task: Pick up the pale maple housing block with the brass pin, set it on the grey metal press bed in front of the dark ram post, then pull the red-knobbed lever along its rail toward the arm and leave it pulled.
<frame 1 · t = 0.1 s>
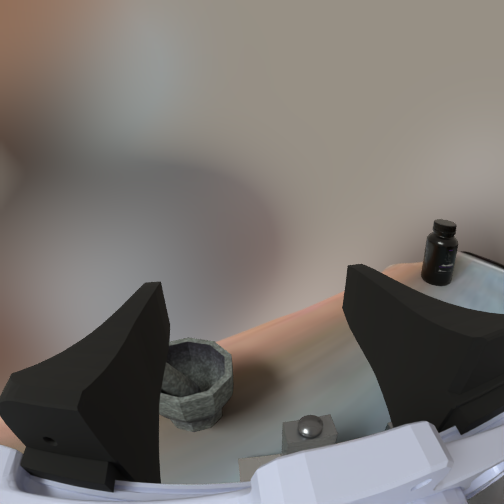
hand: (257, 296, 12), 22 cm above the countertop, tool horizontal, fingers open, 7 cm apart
supplement bottle: (435, 279, 56), on the countertop
press: (314, 502, 20), on the countertop
mortar and pestle: (189, 413, 31), on the countertop
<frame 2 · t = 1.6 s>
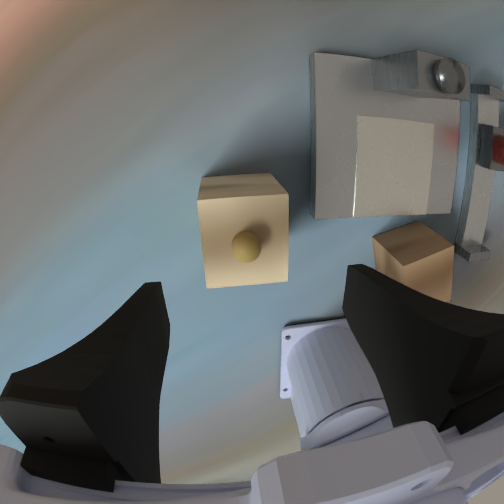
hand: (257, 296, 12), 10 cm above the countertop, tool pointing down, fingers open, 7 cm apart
press: (389, 138, 20), on the countertop
rail: (477, 170, 22), on the countertop
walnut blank: (397, 254, 24), on the countertop
housing: (238, 210, 21), on the countertop
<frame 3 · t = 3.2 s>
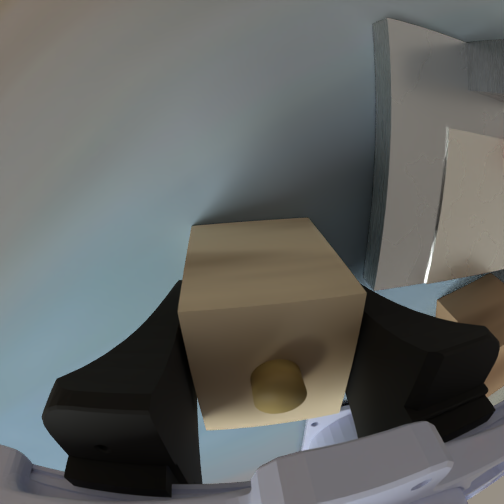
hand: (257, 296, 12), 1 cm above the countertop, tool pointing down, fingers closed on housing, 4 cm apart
press: (475, 163, 12), on the countertop
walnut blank: (460, 316, 16), on the countertop
housing: (253, 278, 13), on the countertop, touching gripper
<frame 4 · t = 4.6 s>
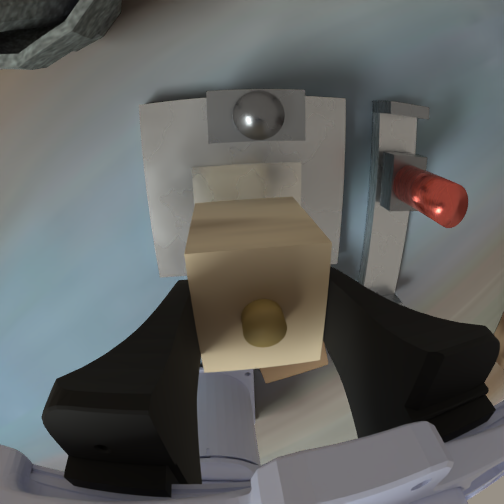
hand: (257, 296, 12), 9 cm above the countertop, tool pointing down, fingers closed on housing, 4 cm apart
press: (246, 184, 19), on the countertop
mortar and pestle: (71, 16, 13), on the countertop
rail: (385, 208, 21), on the countertop
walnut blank: (276, 306, 24), on the countertop
housing: (246, 249, 15), point 5 cm above the countertop, touching gripper
lever: (422, 190, 16), point 4 cm above the countertop, slide at 0.0 cm
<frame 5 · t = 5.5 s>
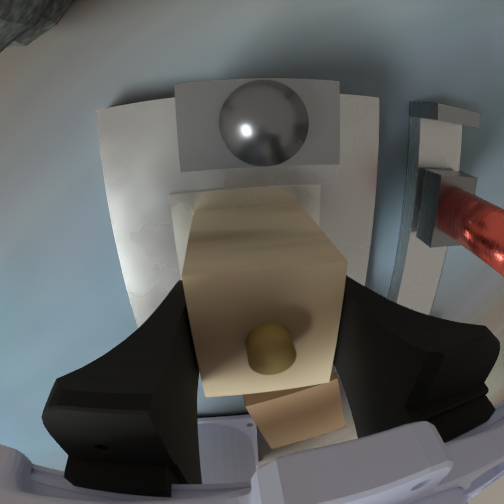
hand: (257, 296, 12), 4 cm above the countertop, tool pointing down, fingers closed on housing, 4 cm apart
press: (245, 212, 15), on the countertop
mortar and pestle: (22, 3, 8), on the countertop
rail: (419, 237, 16), on the countertop
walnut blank: (283, 356, 19), on the countertop
housing: (249, 260, 14), point 1 cm above the countertop, touching gripper, press
lever: (475, 223, 12), point 4 cm above the countertop, slide at 0.0 cm
when the fingers open (4 cm above the countertop, at t = 6.0 s): housing stays where it is, resting on press.
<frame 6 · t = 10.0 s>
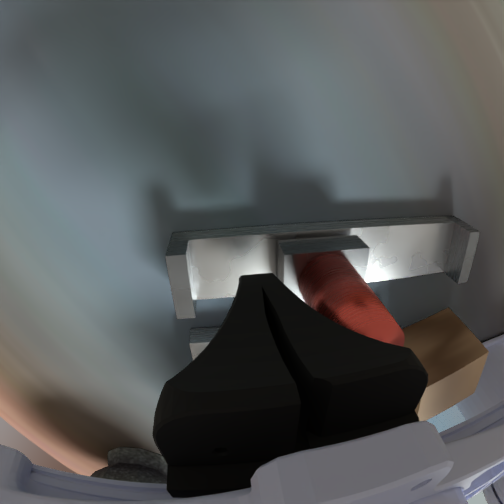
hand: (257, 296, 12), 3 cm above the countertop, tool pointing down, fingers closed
press: (288, 389, 19), on the countertop
mortar and pestle: (143, 463, 23), on the countertop
rail: (334, 249, 15), on the countertop
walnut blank: (417, 343, 19), on the countertop
lever: (339, 300, 11), point 4 cm above the countertop, slide at 1.2 cm, touching gripper
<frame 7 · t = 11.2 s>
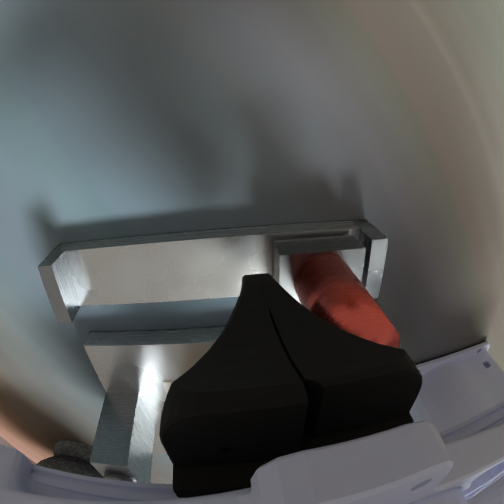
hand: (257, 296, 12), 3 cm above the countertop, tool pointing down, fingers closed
press: (197, 397, 19), on the countertop
mortar and pestle: (88, 457, 23), on the countertop
rail: (210, 259, 15), on the countertop
lever: (334, 301, 11), point 4 cm above the countertop, slide at 7.1 cm, touching gripper
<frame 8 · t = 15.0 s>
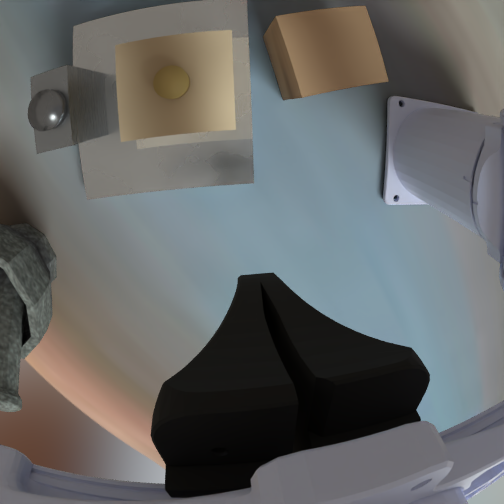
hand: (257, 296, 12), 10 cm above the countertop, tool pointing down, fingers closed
press: (160, 95, 17), on the countertop
mortar and pestle: (32, 264, 21), on the countertop
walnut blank: (309, 60, 17), on the countertop
housing: (187, 91, 16), point 1 cm above the countertop, touching press
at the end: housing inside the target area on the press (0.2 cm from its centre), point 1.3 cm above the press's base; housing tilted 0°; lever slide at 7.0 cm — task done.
